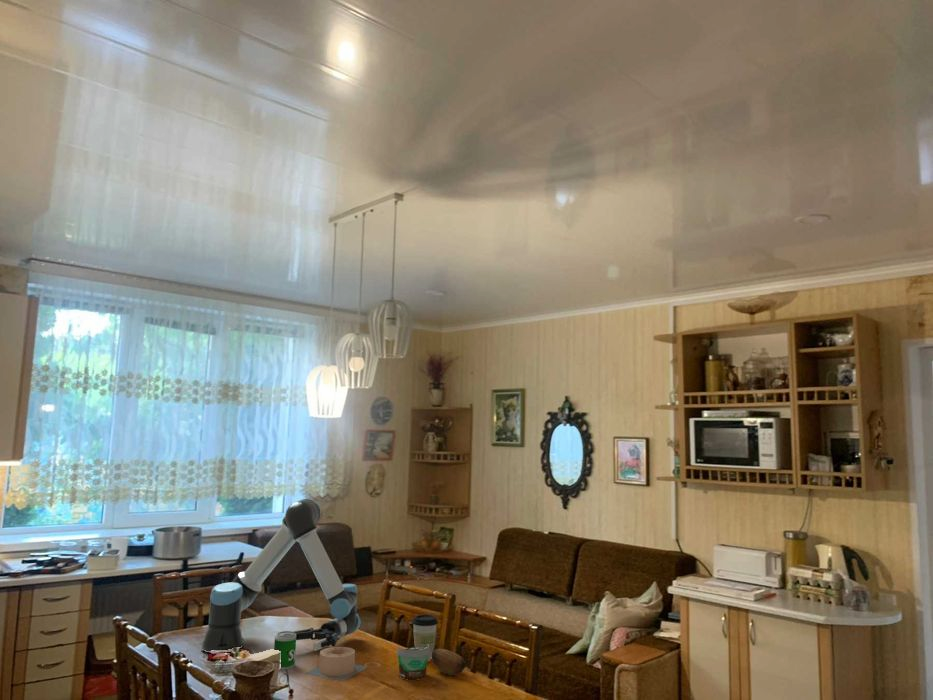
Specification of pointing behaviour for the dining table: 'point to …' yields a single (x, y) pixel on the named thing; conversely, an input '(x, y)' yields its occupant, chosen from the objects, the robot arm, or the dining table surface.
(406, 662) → the food container
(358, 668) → the rubber mat
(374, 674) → the dining table surface
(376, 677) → the dining table surface
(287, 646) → the soda can
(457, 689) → the dining table surface
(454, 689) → the dining table surface
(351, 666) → the beige hollow cylinder
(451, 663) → the potato
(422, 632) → the coffee cup
